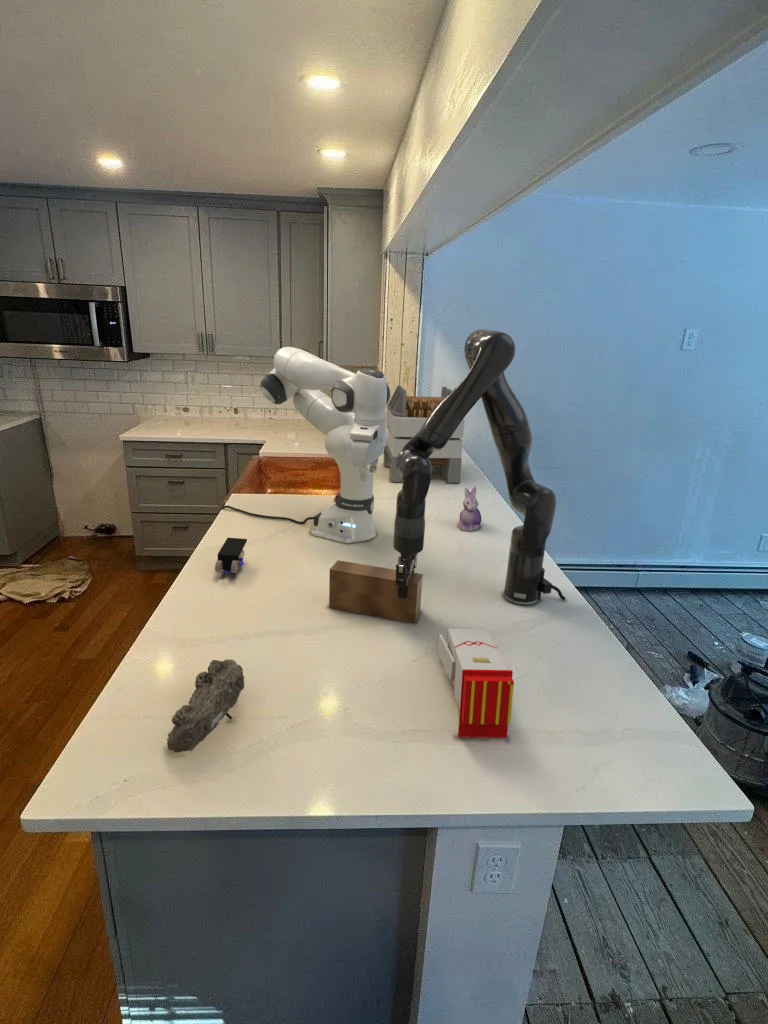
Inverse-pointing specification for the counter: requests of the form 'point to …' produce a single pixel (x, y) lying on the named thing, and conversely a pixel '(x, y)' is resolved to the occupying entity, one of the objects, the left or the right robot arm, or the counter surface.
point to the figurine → (470, 512)
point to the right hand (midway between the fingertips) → (405, 591)
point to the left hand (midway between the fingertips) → (368, 476)
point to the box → (373, 591)
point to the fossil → (206, 705)
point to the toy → (478, 682)
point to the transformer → (407, 422)
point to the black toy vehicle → (230, 556)
